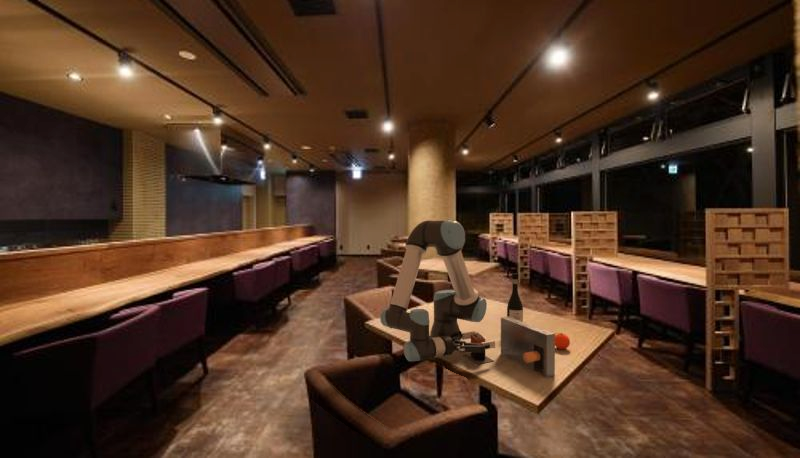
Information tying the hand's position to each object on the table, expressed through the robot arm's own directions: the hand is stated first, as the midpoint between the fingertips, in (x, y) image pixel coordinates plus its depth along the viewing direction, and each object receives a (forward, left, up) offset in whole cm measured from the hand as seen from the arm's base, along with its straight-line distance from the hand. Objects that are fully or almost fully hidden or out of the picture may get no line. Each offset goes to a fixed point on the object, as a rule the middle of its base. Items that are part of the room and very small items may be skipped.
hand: (484, 339), depth 155 cm
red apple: (+6, +38, -8) cm, 39 cm away
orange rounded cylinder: (+22, +5, -3) cm, 23 cm away
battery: (0, -3, -8) cm, 8 cm away
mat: (0, -3, -8) cm, 8 cm away
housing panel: (+13, +11, -8) cm, 19 cm away
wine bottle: (-24, +38, -8) cm, 45 cm away
